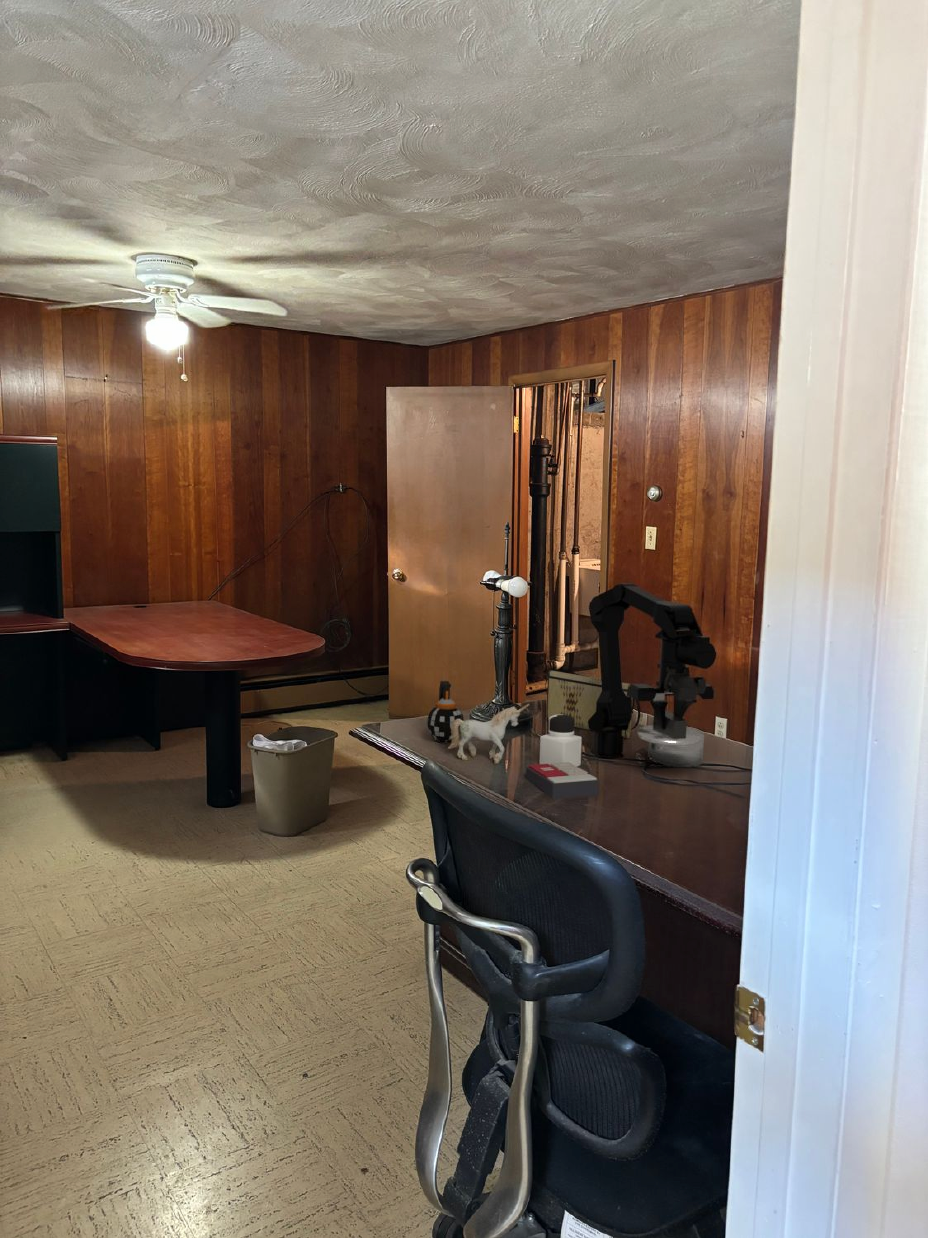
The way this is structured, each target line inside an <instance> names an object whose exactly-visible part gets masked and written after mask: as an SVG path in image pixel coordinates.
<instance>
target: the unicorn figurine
mask: <svg viewBox="0 0 928 1238" xmlns="http://www.w3.org/2000/svg"><path fill="white" fill-rule="evenodd" d="M528 706H530V703H527V704H526V705H524V706H522V707H521V708H519V709H517V707H515V706H511V707H509V708H504V709H502V710H501V711H499V712H497V713H496V714H494V715H493V717H492V718H491V719H490V720H489V721H479V720H476V719H466V720H464V721H462V720H461V719H456V720H455V721H454V722H453V723H452V727H451V733H452V735H451V736H450V738H451V739H452V741H451V743H450V745H449V746H448V747H447V749H448V750H450V749H457V748H458V750H457V754H456V756H457V757H458V758H459V759H462V761H464V762H466V761H469V759H468V757H467V755H465V752H464V745H466V744H467V745H468V750H469V752H470V756H471V757H473V758H475V757H476V756H477V755H476V754H477V748H476V747H475V745H474V744H473V743H472V742H471V740H472V739H473V737H474V738H476V739H478V740H481V741H484V742H485V741H486V742H490V741H491V742H493V743H492V745H491V746H492V748H491V750H489V752H488V755H489V760H491V759H493V763H494V765H497V764H499V763H500V761H501V760H502V758H503V755H504V752H505V747H504V745H503V742H502V740H503V738H504V737H505V733H506V727H507V726H508V723H509V721H510V722H511V724H510V725H511V726H512V727H516V726H517V725H519V722H518V720H519V719H518V718H519V716H520V715H521V713H522V712H523V711H524V710H525V709H526V708H528ZM459 726H460V727H459ZM460 732H461V735H460ZM497 747H498V748H499V752H497V753H496V750H497Z"/></svg>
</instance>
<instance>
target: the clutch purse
mask: <svg viewBox="0 0 928 1238" xmlns="http://www.w3.org/2000/svg"><path fill="white" fill-rule="evenodd" d="M631 684H632V683H626V682H622V689H623V691H624V693H625V694H626V696H627V697H628V688H629V687H630V685H631ZM544 687H545V689H546V690H545V692H546V721H547V722H548V723H549V718H550V717H551V716H553V715H558V714H562V715H569V716H571V717H573V718H574V719H575V725H574V728H577V729H584V730H589V726H588V720H589V719H590V718H591V717H592V716H593V714H594V713H595V712H596V702H597V700H598V698H599V696H600V694H601V692H602V682H601V678H598V677H592V676H586V675H579V674H574V673H569V672H568V673H567V672H563V671H556V670H551V669H549V670H548V671H547V673H546V679H545V685H544ZM631 699H632V710H633V711H634V709H635V703H636V707H637V708H636V709H637V717H636V719H637V720H636V722H635V724H634V726H633V727H632V720H633V719H632V718H633V717H632V718H631V720H630V723H629V726H628V729H627V730H622V736H623V737H624V739H627V740H628V739H629V738H630V736H631V732H632V731H631V730H634V729H635V728H637V726H638V725H639V723H640V719H641V715H642V714H641V704H640V703H641V701H637V700H635V699H633V698H631ZM589 731H590V730H589Z"/></svg>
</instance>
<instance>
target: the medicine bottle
mask: <svg viewBox="0 0 928 1238" xmlns="http://www.w3.org/2000/svg"><path fill="white" fill-rule="evenodd" d="M574 725H575V719H574V718H573V717H571V716H569V715H562V714H558V715H553V716H551V717H550V718H549V722H548V733H547V734H544V735H541V736H540V737H539V738H540V739H539V746H540V747H539V762H538V763H539V764H549V765H551V763H564V762H569V763H571V764H573V765H575V766H577V767H580V766H581V763H582V762H581V760H582V740H583V739H582V736H579V735H576V734H575V727H574Z"/></svg>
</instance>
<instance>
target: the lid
mask: <svg viewBox="0 0 928 1238" xmlns="http://www.w3.org/2000/svg"><path fill="white" fill-rule="evenodd" d="M652 723H653V724H651V725H644V726H641V727H639V728H638V729H637V733H636V734H637V737H638V739H641V740H643V741H646V742H647V743H649V742H651V743H656V744H662V745H672V746H686V745H694V744H697V743H699V742H700V741H701V734H700V733H699V732H697V731H695V730H692V729H688V728H687V727H688V726H687V725H688V721H687V720H686V719H685V718H684V717H683V718H681V717H679V716H677V715H675V714H674V712H671V711H669V710H666V709H665V728H664V730H662V729H661V728H660V725H659V722H658V720H657V717H656V714H655V711H654V710H653V722H652Z"/></svg>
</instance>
